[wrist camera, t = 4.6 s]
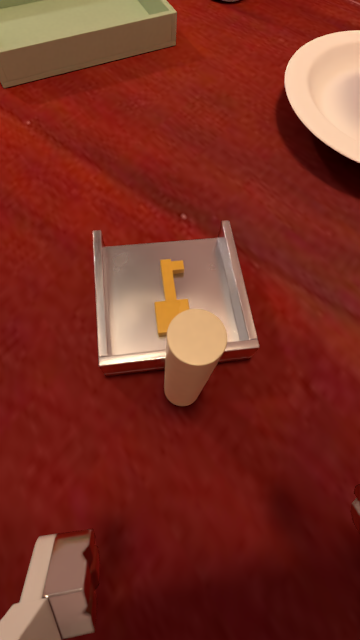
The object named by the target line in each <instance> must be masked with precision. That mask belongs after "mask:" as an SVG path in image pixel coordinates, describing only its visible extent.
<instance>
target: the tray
mask: <svg viewBox="0 0 360 640" xmlns="http://www.w3.org/2000/svg"><path fill="white" fill-rule="evenodd" d="M176 22H177V12H176V11H175V10H174V8H173V7H172V6H171V5H170V4H169V3H168V2H167V1H166V0H0V82H1V84H2V86H3V88H7V87H11V86H15V85H19V84H23V83H27V82H31V81H35V80H39V79H43V78H47V77H51V76H55V75H59V74H63V73H67V72H71V71H75V70H79V69H83V68H87V67H91V66H95V65H98V64H102V63H106V62H110V61H114V60H118V59H122V58H126V57H130V56H134V55H138V54H142V53H146V52H150V51H154V50H158V49H162V48H166V47H170V46H174V45H176Z"/></svg>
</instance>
